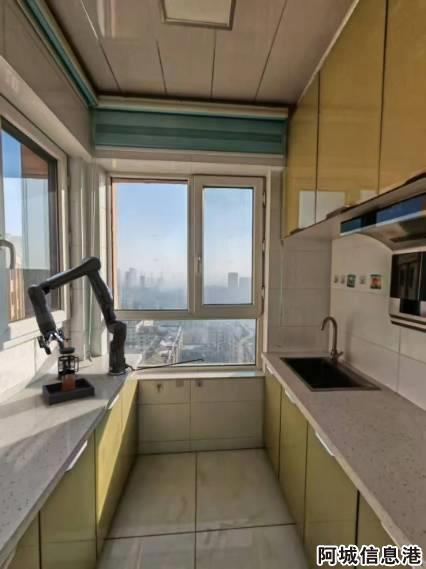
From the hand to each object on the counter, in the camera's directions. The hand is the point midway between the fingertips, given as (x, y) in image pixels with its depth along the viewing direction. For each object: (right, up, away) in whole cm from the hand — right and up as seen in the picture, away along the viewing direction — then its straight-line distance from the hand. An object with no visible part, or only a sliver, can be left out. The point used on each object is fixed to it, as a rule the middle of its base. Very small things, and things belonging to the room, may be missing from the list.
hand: (56, 351), depth 147 cm
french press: (-5, -20, +22) cm, 30 cm away
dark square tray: (+9, -21, -5) cm, 23 cm away
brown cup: (+9, -20, -5) cm, 22 cm away
